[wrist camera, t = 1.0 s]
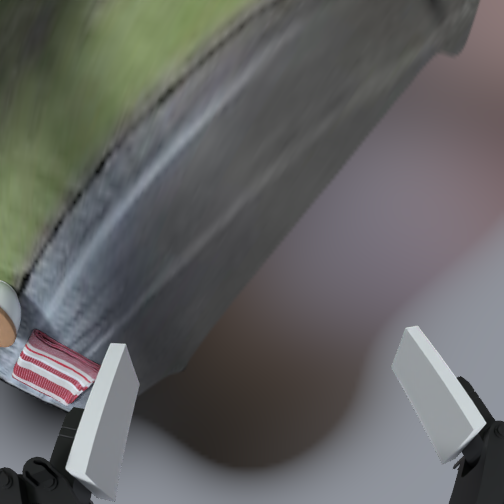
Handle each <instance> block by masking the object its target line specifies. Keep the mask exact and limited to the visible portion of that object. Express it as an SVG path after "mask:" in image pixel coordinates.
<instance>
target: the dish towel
mask: <svg viewBox="0 0 504 504" xmlns="http://www.w3.org/2000/svg"><path fill="white" fill-rule="evenodd" d="M100 368H101V365H99V364H97V363H95V362H93V361H91V360H89V359H87V358H85V357H83V356H82V355H80V354H78V353H77V352H75V351H73V350H71V349H69V348H68V347H66V346H64V345H62V344H60V343H58V342H56V341H55V340H53V339H52V338H50V337H49V336H47V335H46V334H44V333H43V332H41V331H40V330H37V329H34V330H33V332H32V334H31V336H30V338H29V340H28V341H27V343H26V345H25V347H24V348H23V350H22V352H21V354H20V356H19V358H18V361H17V362H16V364H15V366H14V369H13V373H12V377H13V378H15V379H16V380H18V381H20V382H22V383H24V384H26V385H28V386H30V387H31V388H33V389H35V390H37V391H39V392H41V393H43V394H45V395H47V396H49V397H52V398H53V399H55V400H57V401H59V402H61V403H62V404H64V405H66V406H67V405H70V404H71V403H72V402H74V400H75V399H76V398H77V397H78V396H79V395H80V394H81V393H82V392H83V391H85V390H86V389H87V388H88V387H89V386H90V385H91V384H92V383H93V382H94V381H95V380H96V378H97V375H98V373H99V370H100Z"/></svg>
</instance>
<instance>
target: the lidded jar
mask: <svg viewBox="0 0 504 504" xmlns="http://www.w3.org/2000/svg"><path fill="white" fill-rule="evenodd" d="M20 321H21V307H20V303H19V300H18V296H17V294H16V292H15V290H14V289H13V288H12V287H11V286H10V285H9V284H8V283H6V282H4V281H2V280H0V347H9V346H11V345H12V344H13V343H14V342H15V339H16V335H17V332H18V329H19V326H20Z"/></svg>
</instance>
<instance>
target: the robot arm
mask: <svg viewBox="0 0 504 504" xmlns="http://www.w3.org/2000/svg"><path fill="white" fill-rule="evenodd" d="M391 368H392V370H393V372H394V373H395V375H396V377H397V379H398V381H399V383H400V384H401V386H402V388H403V389H404V392H405V393H406V395H407V397H408V399H409V401H410V403H411V404H412V406H413V408H414V410H415V412H416V414H417V416H418V417H419V419H420V421H421V423H422V425H423V427H424V429H425V431H426V433H427V435H428V437H429V439H430V441H431V443H432V445H433V447H434V448H435V451H436V453H437V455H438V457H439V459H440V461H441V463H442V464H444V463H447V462H449V461H451V460H453V459H455V458H456V457H457V456H458V455H459V454H460V453H461V452H462V453H463V455H464V456H463V457H462V458H461V459H460V460H459V461H458V462H457V463H456V464H455V465H454V467H453V469H455V468H456V467H457V466H458V465H459V464H460V466H459V468H458V474H457V478H456V481H455V485H454V488H453V492H452V495H451V498H450V501H449V504H504V422H503V421H495V419H494V418H493V417H492V415H491V414H490V412H489V411H488V409H487V408H486V406H485V405H484V403H483V402H482V400H481V399H480V398H479V396H478V395H477V393H476V392H474V389H473V387H472V386H471V385H470V383H469V382H468V381H466V380H465V379H464V378H463V377H461V376H460V377H457V378H456V377H455V375H454V374H453V372H452V371H451V370H450V368H449V367H448V366H447V364H446V363H445V362H444V360H443V359H442V357H441V356H440V355H439V353H438V352H437V351H436V349H435V348H434V347H433V345H432V344H431V343H430V341H429V340H428V339H427V337H426V336H425V335H424V333H423V332H422V331H421V330H420V328H419V327H418V326H414V327H408V328H405V331H404V334H403V337H402V340H401V342H400V346H399V348H398V350H397V353H396V356H395V359H394V361H393V364H392V366H391ZM139 385H140V384H139V381H138V379H137V376H136V373H135V370H134V367H133V364H132V361H131V358H130V355H129V352H128V349H127V346H126V344H118V343H111V344H110V346H109V348H108V351H107V353H106V355H105V358H104V360H103V363H102V365H101V368H100V370H99V373H98V375H97V378H96V380H95V383H94V385H93V388H92V391H91V393H90V396H89V399H88V401H87V404H86V407H85V409H81V408H76V407H73V408H72V410H71V411H70V412H69V413H68V414H67V415H66V417H65V420H64V422H63V425H62V428H61V430H60V433H59V436H58V438H57V441H56V444H55V447H54V450H53V453H52V456H51V459H50V462H49V461H47V460H46V459H44V458H41V457H34V458H31V459H29V460H28V461H27V462H26V463H25V465H24V467H23V471H22V472H23V474H17V473H16V472H14V471H13V470H12V469H10V468H5V467H4V468H1V469H0V504H93V502H92V501H91V500H90V498H91V493H92V494H94V495H95V496H96V497H97V498H100V499H105V500H109V501H114V502H115V498H116V492H117V486H118V481H119V475H120V469H121V465H122V460H123V455H124V449H125V445H126V440H127V435H128V431H129V426H130V422H131V417H132V413H133V409H134V405H135V401H136V397H137V393H138V389H139Z"/></svg>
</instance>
